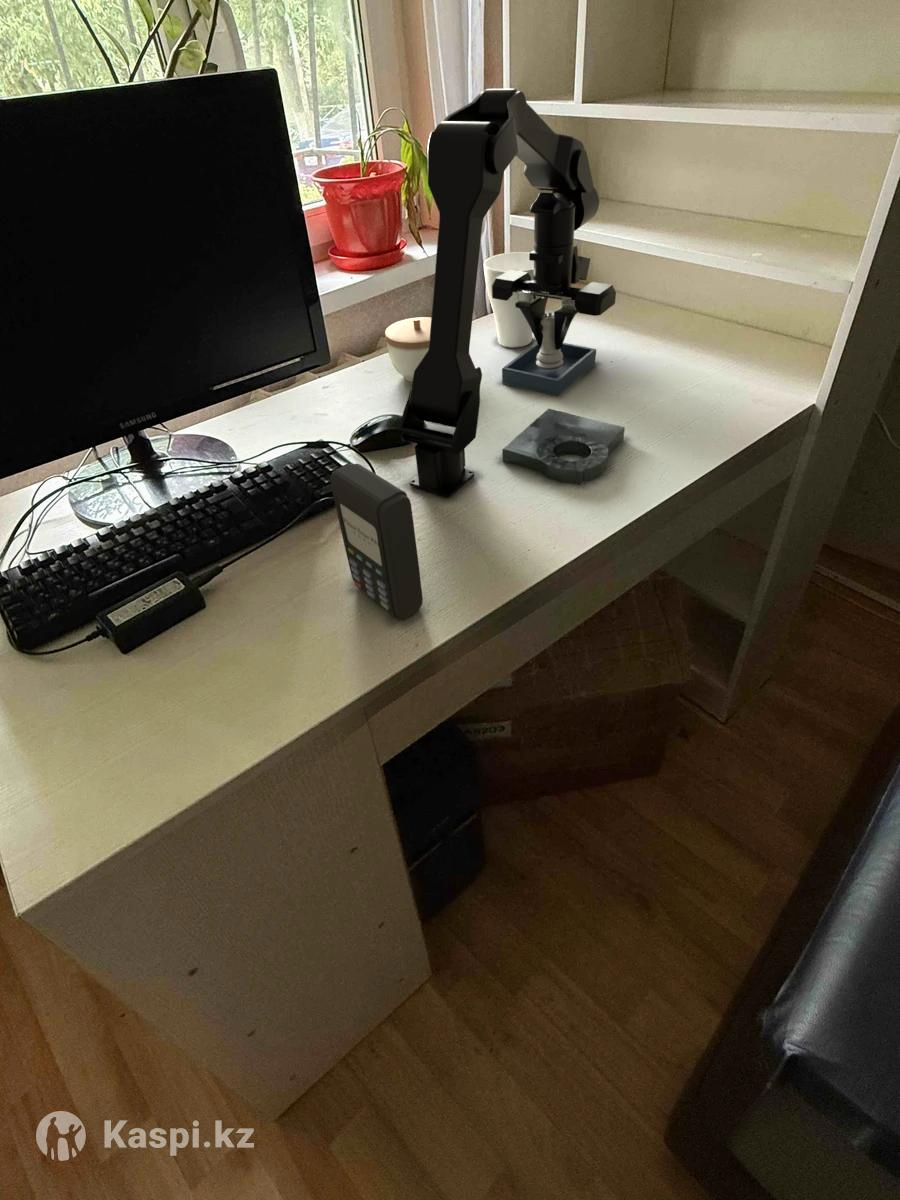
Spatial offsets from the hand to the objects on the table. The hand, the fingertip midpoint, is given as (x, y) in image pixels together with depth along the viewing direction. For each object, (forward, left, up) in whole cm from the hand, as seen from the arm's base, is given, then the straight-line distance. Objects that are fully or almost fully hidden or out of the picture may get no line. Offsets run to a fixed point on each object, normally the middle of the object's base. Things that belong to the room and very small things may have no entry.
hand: (550, 347), depth 110 cm
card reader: (-57, -11, -5) cm, 58 cm away
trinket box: (-10, +19, -5) cm, 22 cm away
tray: (0, 0, -5) cm, 5 cm away
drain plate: (-20, -13, -5) cm, 25 cm away
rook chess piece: (0, 0, -3) cm, 3 cm away
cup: (+9, +12, -5) cm, 16 cm away
